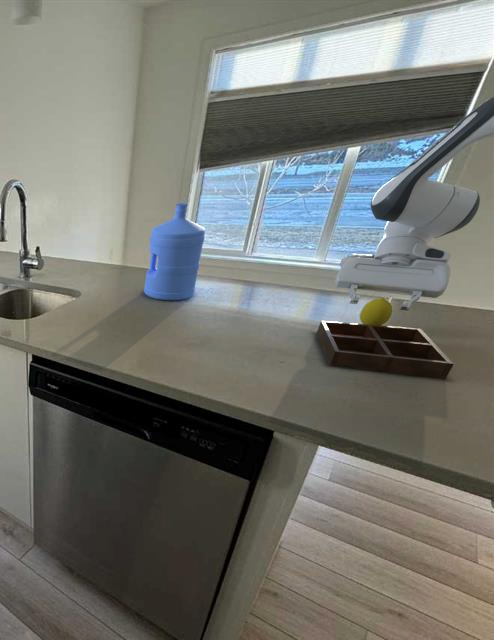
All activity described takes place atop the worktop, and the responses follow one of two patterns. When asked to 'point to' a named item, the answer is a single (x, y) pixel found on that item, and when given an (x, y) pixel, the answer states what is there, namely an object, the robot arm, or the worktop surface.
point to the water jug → (174, 257)
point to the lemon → (376, 312)
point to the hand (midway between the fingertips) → (378, 306)
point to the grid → (382, 349)
